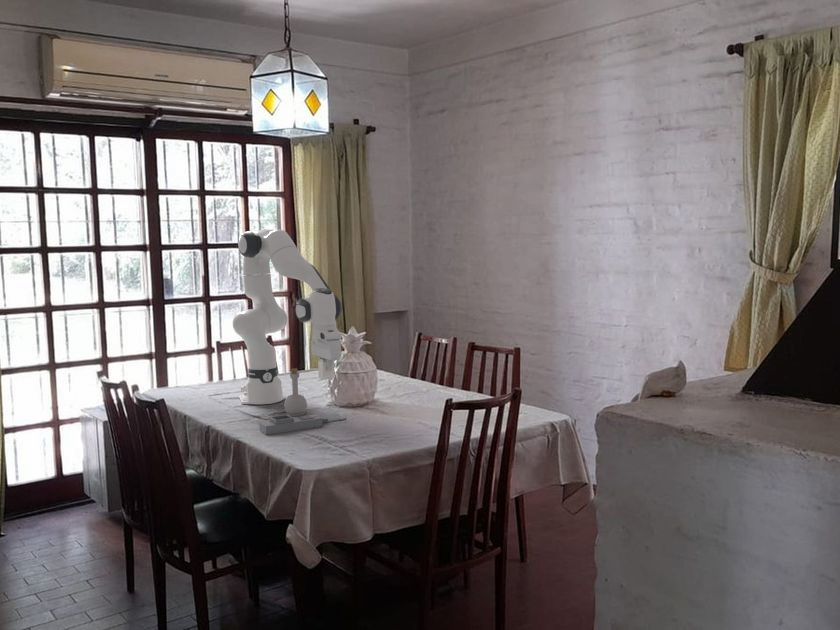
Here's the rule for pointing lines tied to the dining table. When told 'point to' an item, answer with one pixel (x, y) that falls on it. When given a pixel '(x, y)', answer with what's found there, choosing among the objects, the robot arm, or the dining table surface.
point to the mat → (332, 417)
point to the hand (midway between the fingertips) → (326, 369)
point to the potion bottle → (295, 398)
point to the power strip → (290, 423)
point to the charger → (323, 372)
